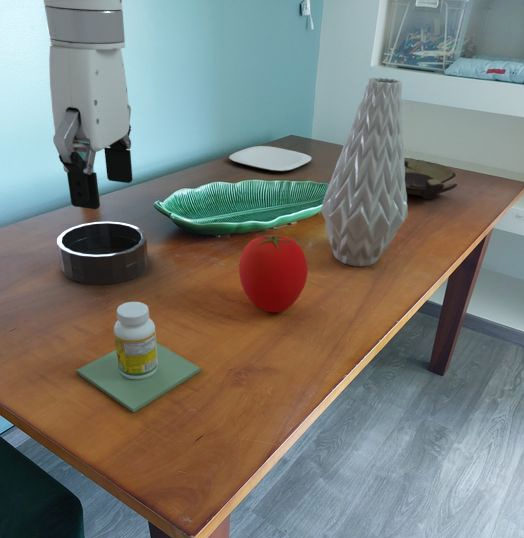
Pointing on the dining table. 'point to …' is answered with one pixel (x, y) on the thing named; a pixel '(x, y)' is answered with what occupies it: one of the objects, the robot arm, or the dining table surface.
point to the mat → (138, 390)
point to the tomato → (273, 272)
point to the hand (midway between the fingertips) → (104, 193)
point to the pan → (103, 253)
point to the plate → (270, 158)
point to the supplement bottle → (135, 341)
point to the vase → (369, 179)
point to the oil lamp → (426, 178)
